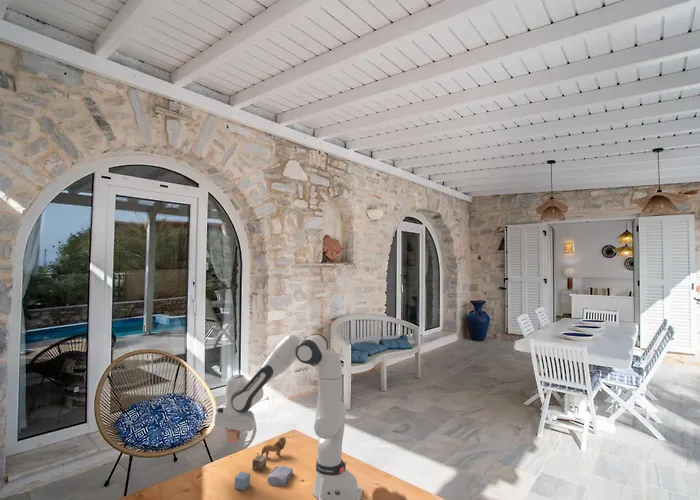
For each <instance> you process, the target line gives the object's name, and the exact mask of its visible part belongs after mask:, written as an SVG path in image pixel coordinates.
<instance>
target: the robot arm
mask: <svg viewBox="0 0 700 500" xmlns="http://www.w3.org/2000/svg"><path fill="white" fill-rule="evenodd" d="M328 347H329V342H328V339H327V338H326V336H325V335H323V334H321V333H313V334H311V335H307V336H305V337H304V338H303V339H302V338H300V337H299V336H297V335H296V334H288V335H287V336H285V337H284V338H282V340H280V342H279V343H277V345H276V346H275V348H273V350H272V351H271V352H270V354H269V355H268V357H267V358H266V359H265V361H264V362H263V364H262V365H261V367H260V368H259V369H258V371H257V372H256V374H254V376H253V377H252V378H251V379H250V380H249V379H248V378H246V377H245V375H243V374H235V375H232V376H230V377H229V378H228V379H227V381H226V385H225V386H226V387H225V396H226V400H225V403H222V404H220V405H219V406H218V407H216V409H215V412H216V413H215V414H214V425H215V427H222V428H223V429H224V432H225V436H226V437H227V431H228V430H230V429H231V428H232V429H238V430H240V432H241V433H240V434H238V438H240V440H241V439H242V438H243V434H244V432H251V431H252V430H253V429H254V428H255V413H254V412H252V410H250V409H251V408H252V407H254V406H255V405H256V404H258V403H259V402H260V401H261V400H262V399H263V397H264V389H263V387H265V385H267V383H270V381H271V380H273V379H274V378H276V377H277V376H279V375H281V374H283V373H284V372H285V371H286V370H288V368H289V367H291V365H293V363H294V362H295V361H296V360H298V361H299V362H301V363H302V364H305V365H310V366H313V367H315V366H316V367H317V392H318V393H317V401H316V402H317V403H316V410H315V420H314V425H313V430H314V433H315V435H316V436H317V437H318V442H317V459H316V462H315V463H316V464H315V472H316V474H315V475H316V476H315V481H314V485H313V489H312V494H313V495H314V496H315V498H316V499H318V500H361V499H362V497H361V496H363V489H362V486H361V485H358V480H357V478H356V476H355V474H352V473H351V471H349V470H348V469H347V468H346V465H347V460H345V461H344V460H343V459H342V457H343V455H342V454H343V438H344V432H345V423H346V414H347V407H346V405H345V403H344V401H342V396H343V371H342V363H341V357H340V354H339V353H337V352H335V351H333V350H328Z"/></svg>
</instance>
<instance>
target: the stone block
mask: <svg viewBox="0 0 700 500" xmlns="http://www.w3.org/2000/svg"><path fill="white" fill-rule="evenodd" d="M293 469H294V468H293V467H290V466H288V465H287V466H286V465H278V466H275V467H274V468H273V469H272V470H271V471H270V473H269V475H267V483H268V485H271V486H278V485H279V487H285V486H286V485H287V483H288V481H289V480H290V479H291V477H292V476H293V472H294V470H293Z"/></svg>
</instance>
